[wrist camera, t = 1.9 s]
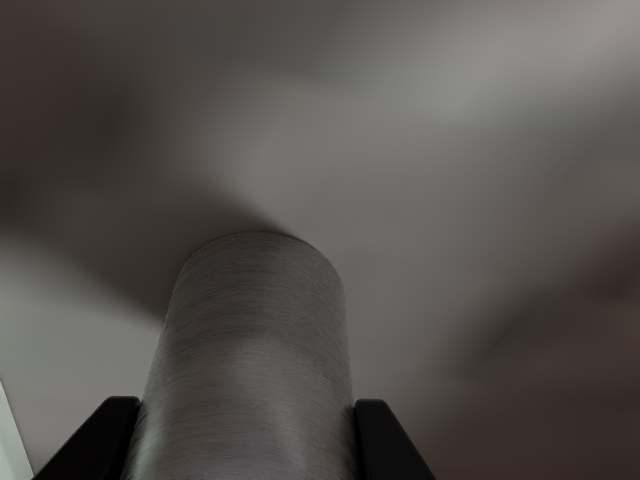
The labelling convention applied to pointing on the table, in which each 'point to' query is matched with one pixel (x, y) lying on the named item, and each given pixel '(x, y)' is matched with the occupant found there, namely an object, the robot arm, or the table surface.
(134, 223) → the table surface
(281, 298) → the pin
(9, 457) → the tray
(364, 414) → the robot arm
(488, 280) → the table surface
